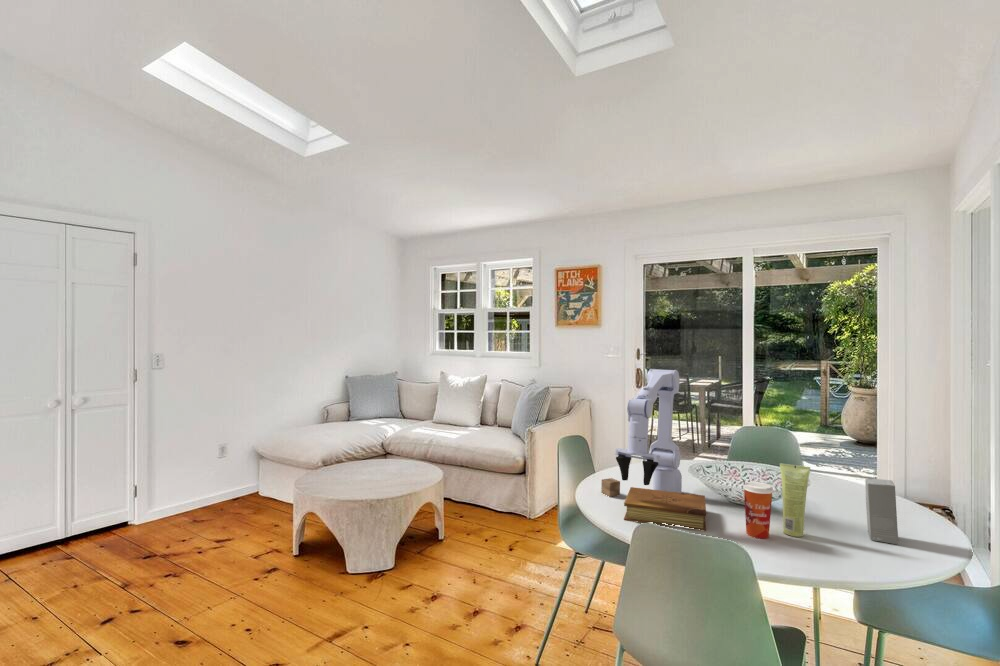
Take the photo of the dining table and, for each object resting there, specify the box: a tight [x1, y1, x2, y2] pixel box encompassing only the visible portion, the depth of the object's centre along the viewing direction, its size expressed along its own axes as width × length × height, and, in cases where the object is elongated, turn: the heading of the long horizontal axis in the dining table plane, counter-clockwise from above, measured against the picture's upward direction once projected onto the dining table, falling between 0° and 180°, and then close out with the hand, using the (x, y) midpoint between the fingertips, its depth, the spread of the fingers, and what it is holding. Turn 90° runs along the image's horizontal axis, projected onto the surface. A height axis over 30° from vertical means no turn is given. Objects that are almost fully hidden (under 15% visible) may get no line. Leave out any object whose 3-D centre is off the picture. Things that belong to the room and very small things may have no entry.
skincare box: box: [864, 477, 899, 546], centre depth 144 cm, size 8×7×16 cm
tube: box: [779, 462, 811, 538], centre depth 146 cm, size 6×5×20 cm
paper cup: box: [742, 481, 775, 540], centre depth 145 cm, size 8×8×14 cm
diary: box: [623, 486, 707, 531], centre depth 160 cm, size 23×19×6 cm
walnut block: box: [600, 477, 621, 498], centre depth 180 cm, size 4×4×5 cm
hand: (635, 482), depth 158 cm, fingers open, 7 cm apart
